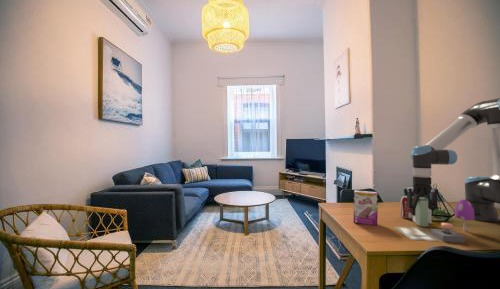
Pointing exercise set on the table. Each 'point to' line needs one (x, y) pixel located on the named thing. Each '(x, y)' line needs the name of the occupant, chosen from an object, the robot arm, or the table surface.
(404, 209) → the soda can
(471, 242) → the table surface
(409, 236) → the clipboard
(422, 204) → the pale green block
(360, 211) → the candy bar box
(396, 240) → the table surface
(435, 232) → the button housing
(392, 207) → the table surface
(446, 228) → the button cap
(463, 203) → the toy
